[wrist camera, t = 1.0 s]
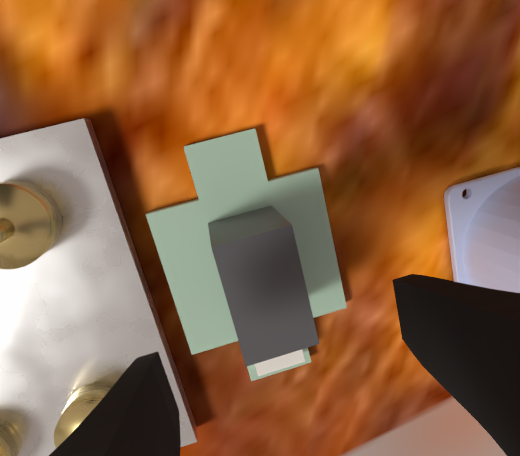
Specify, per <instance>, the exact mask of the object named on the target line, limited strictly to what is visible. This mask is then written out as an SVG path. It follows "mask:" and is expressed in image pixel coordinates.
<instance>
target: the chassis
mask: <svg viewBox="0 0 520 456" xmlns="http://www.w3.org/2000/svg"><path fill="white" fill-rule="evenodd" d="M157 351H158V353H159V355H160V358H161V361H162V364H163V367H164V369H165V372H166V375H167V378H168V381H169V383H170V386H171V389H172V392H173V395H174V398H175V400H176V403H177V406H178V409H179V418H180V439H181V446H180V447H183V446H186V445H189V444H192V443H195V442H197V426H196V423H195V420H194V417H193V415H192V412H191V409H190V406H189V403H188V400H187V397H186V394H185V391H184V389H183V386H182V383H181V380H180V377H179V374H178V371H177V368H176V365H175V363H174V360H173V357H172V354H171V351H170V348H169V345H168V342H167V339H166V336H165V334H164V331H163V328H162V325H161V322H160V319H159V316H158V313H157V310H156V308H155V305H154V302H153V299H152V296H151V293H150V290H149V287H148V284H147V282H146V279H145V276H144V273H143V270H142V267H141V264H140V261H139V258H138V255H137V253H136V250H135V247H134V244H133V241H132V238H131V235H130V232H129V229H128V227H127V224H126V221H125V218H124V215H123V212H122V209H121V206H120V203H119V200H118V198H117V195H116V192H115V189H114V186H113V183H112V180H111V177H110V174H109V172H108V169H107V166H106V163H105V160H104V157H103V154H102V151H101V148H100V146H99V143H98V140H97V137H96V134H95V131H94V128H93V125H92V122H91V119H86V118H83V119H79V120H75V121H71V122H66V123H62V124H58V125H54V126H50V127H46V128H42V129H37V130H33V131H29V132H25V133H21V134H17V135H13V136H9V137H4V138H0V456H49V455H50V454H51V453H52V452H53V451H54V450H55V449H56V448H57V447H58V446H59V445H60V444H61V443H62V442H63V441H64V440H65V439H66V438H67V437H68V436H69V435H70V434H71V433H72V432H73V431H74V430H75V429H76V428H77V427H78V426H79V425H80V423H81V422H82V421H83V420H84V419H85V418H86V417H87V416H88V415H89V414H90V412H91V411H92V410H93V409H94V408H95V407H96V406H97V405H98V403H99V402H100V401H101V400H102V399H103V398H104V396H105V395H106V394H107V393H108V391H109V390H110V389H111V388H112V387H113V385H114V384H115V383H116V382H117V381H118V379H119V378H120V377H121V376H122V374H123V373H124V372H125V371H126V369H127V368H128V367H129V366H130V365H131V364H132V362H133V361H134V360H135V359H136V358H138V357H141V356H144V355H148V354H151V353H154V352H157Z"/></svg>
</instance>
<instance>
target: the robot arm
mask: <svg viewBox="0 0 520 456" xmlns="http://www.w3.org/2000/svg"><path fill="white" fill-rule="evenodd" d="M465 189H466V191H467V192H466V195H465V197H462V192H463V191H464V190H465ZM444 202H445V211H446V219H447V227H448V236H449V244H450V252H451V261H452V269H453V277H454V281H449V280H445V279H440V278H435V277H429V276H423V275H415V274H411V275H407V276H404V277H401V278H398V279H394V280H393V285H394V291H395V297H396V303H397V309H398V315H399V321H400V327H401V333H402V339H403V340H404V342H405V343H406V344H407V346H408V347H409V349H410V350H411V351H412V353H413V354H414V355H415V357H416V358H417V359H418V361H419V362H420V363H421V364H422V365H423V367H424V368H425V369H426V370H427V371H428V372H429V373H430V374H431V375H432V376H433V377H434V378H435V379H436V380H437V381H438V382H439V383H440V384H441V385H442V386H443V387H444V388H445V389H446V390H447V391H448V392H449V393H450V394H451V395H452V396H453V397H454V398H455V399H456V400H457V401H458V402H459V403H460V404H461V405H462V406H463V407H464V408H465V409H466V410H467V411H468V412H469V413H470V414H471V415H472V416H473V417H474V418H475V419H476V420H477V421H478V422H479V423H480V424H481V425H482V427H483V428H484V429H485V430H486V431H487V432H488V433H489V434H490V435H491V436H492V438H493V439H494V440H495V441H496V443H497V444H498V445H499V446H500V447H501V449H502V450H503V451H504V452H505V454H506V455H507V456H520V167H517V168H513V169H509V170H506V171H502V172H499V173H495V174H492V175H488V176H485V177H481V178H478V179H474V180H471V181H467V182H463V183H460V184H456V185H453V186H451V187H449V188H448V189H447V190H446V191H445V194H444ZM180 446H181V439H180V418H179V409H178V406H177V403H176V400H175V398H174V395H173V392H172V389H171V386H170V383H169V381H168V378H167V375H166V372H165V369H164V367H163V364H162V361H161V358H160V355H159V353H158V351H157V352H154V353H151V354H148V355H144V356H141V357H138V358H136V359H135V360H134V361H133V362H132V364H131V365H130V366H129V367H128V368H127V369H126V371H125V372H124V373H123V374H122V376H121V377H120V378H119V379H118V381H117V382H116V383H115V384H114V385H113V387H112V388H111V389H110V390H109V391H108V393H107V394H106V395H105V396H104V398H103V399H102V400H101V401H100V402H99V403H98V405H97V406H96V407H95V408H94V409H93V410H92V411H91V412H90V414H89V415H88V416H87V417H86V418H85V419H84V420H83V421H82V422H81V423H80V425H79V426H78V427H77V428H76V429H75V430H74V431H73V432H72V433H71V434H70V435H69V436H68V437H67V438H66V439H65V440H64V441H63V442H62V443H61V444H60V445H59V446H58V447H57V448H56V449H55V450H54V451H53V452H52V453H51V454H50V455H49V456H180Z"/></svg>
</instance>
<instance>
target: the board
mask: <svg viewBox="0 0 520 456" xmlns="http://www.w3.org/2000/svg"><path fill="white" fill-rule="evenodd" d="M184 150H185V154H186V157H187V161H188V164H189V168H190V171H191V174H192V178H193V181H194V185H195V188H196V192H197V195H198V199H195V200H191V201H188V202H184V203H180V204H176V205H173V206H169V207H165V208H161V209H158V210H154V211H150V212H147V213H146V217H147V220H148V223H149V226H150V229H151V232H152V236H153V239H154V242H155V245H156V248H157V251H158V254H159V257H160V260H161V263H162V266H163V269H164V272H165V275H166V278H167V281H168V284H169V287H170V290H171V293H172V296H173V299H174V302H175V305H176V308H177V311H178V314H179V317H180V320H181V323H182V326H183V329H184V333H185V336H186V339H187V342H188V345H189V348H190V351H191V354H192V355H193V354H196V353H200V352H203V351H206V350H209V349H213V348H216V347H219V346H223V345H226V344H229V343H232V342H236V341H239V344H240V348H241V351H242V355H243V358H244V362H245V365H246V367H247V368H248V371H249V375H250V378H251V381H254V380H257V379H260V378H263V377H266V376H269V375H273V374H276V373H279V372H282V371H285V370H288V369H292V368H295V367H298V366H301V365H304V364H307V363H311V359H310V355H309V351H308V347H311V346H314V345H317V344H319V340H318V336H317V331H316V327H315V323H314V317H318V316H321V315H324V314H327V313H331V312H334V311H337V310H340V309H344V308H347V306H346V302H345V297H344V292H343V287H342V282H341V277H340V272H339V267H338V262H337V257H336V252H335V247H334V242H333V238H332V233H331V228H330V223H329V218H328V213H327V208H326V203H325V198H324V193H323V188H322V183H321V178H320V174H319V169H318V168H316V167H314V168H311V169H307V170H303V171H299V172H296V173H292V174H288V175H284V176H281V177H277V178H273V179H270V180H268V179H267V175H266V171H265V167H264V163H263V158H262V154H261V150H260V146H259V142H258V137H257V133H256V129H255V128H254V129H250V130H246V131H242V132H238V133H234V134H230V135H226V136H222V137H218V138H214V139H210V140H207V141H203V142H199V143H195V144H191V145H187V146H184Z"/></svg>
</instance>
